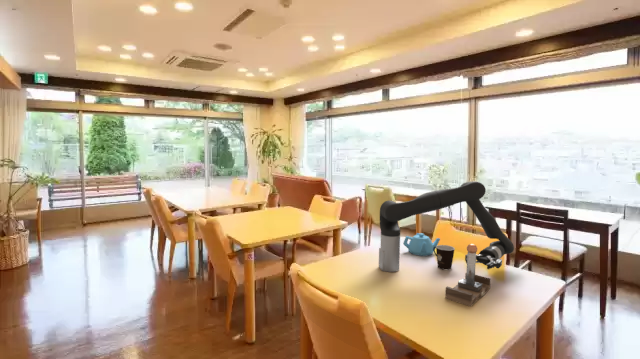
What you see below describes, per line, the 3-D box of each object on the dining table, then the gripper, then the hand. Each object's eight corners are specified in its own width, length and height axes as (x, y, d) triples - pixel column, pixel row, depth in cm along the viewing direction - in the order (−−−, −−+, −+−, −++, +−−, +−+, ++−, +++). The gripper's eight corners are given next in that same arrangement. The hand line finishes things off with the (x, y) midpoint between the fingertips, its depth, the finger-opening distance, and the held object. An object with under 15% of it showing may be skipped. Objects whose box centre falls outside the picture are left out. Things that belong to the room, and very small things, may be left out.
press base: (471, 306, 134) (472, 295, 133) (445, 298, 141) (445, 287, 140) (491, 289, 150) (491, 278, 149) (466, 282, 157) (466, 272, 156)
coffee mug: (456, 270, 171) (457, 250, 170) (438, 270, 171) (439, 250, 170) (448, 262, 182) (449, 243, 181) (431, 262, 182) (432, 243, 181)
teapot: (417, 246, 209) (418, 228, 208) (440, 252, 197) (441, 234, 196) (401, 251, 199) (401, 233, 198) (424, 258, 188) (425, 238, 186)
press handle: (477, 292, 142) (480, 247, 140) (457, 286, 147) (460, 243, 145) (482, 288, 145) (484, 244, 143) (462, 282, 151) (464, 240, 149)
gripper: (474, 244, 167) (461, 252, 155) (507, 250, 157) (495, 259, 145) (473, 259, 167) (460, 268, 156) (506, 267, 158) (494, 277, 146)
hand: (477, 264), depth 150 cm, fingers open, 8 cm apart
